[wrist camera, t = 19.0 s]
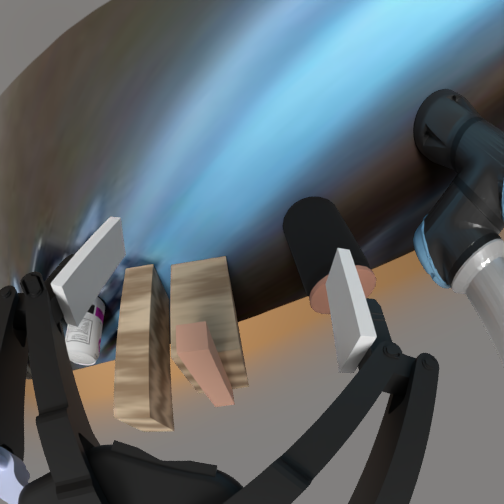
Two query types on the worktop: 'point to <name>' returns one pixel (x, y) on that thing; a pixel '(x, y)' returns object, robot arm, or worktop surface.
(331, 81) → the worktop surface
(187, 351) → the bar
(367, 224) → the worktop surface
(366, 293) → the coffee jar
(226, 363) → the oak stand
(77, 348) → the supplement can
